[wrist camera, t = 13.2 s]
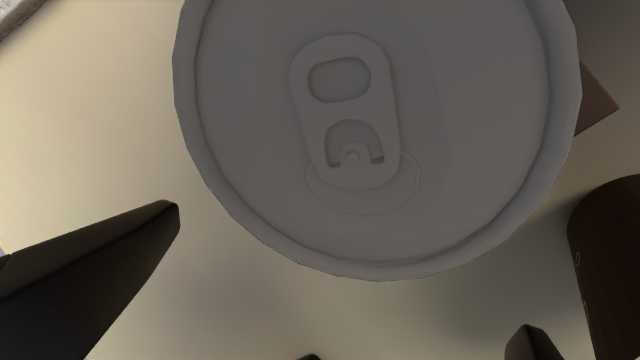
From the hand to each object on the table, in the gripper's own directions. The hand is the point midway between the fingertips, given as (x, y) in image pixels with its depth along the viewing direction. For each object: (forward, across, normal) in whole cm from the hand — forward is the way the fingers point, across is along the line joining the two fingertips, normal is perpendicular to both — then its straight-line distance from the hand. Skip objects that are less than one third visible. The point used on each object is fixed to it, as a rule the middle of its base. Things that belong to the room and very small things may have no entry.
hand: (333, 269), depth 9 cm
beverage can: (+10, 0, -4) cm, 10 cm away
